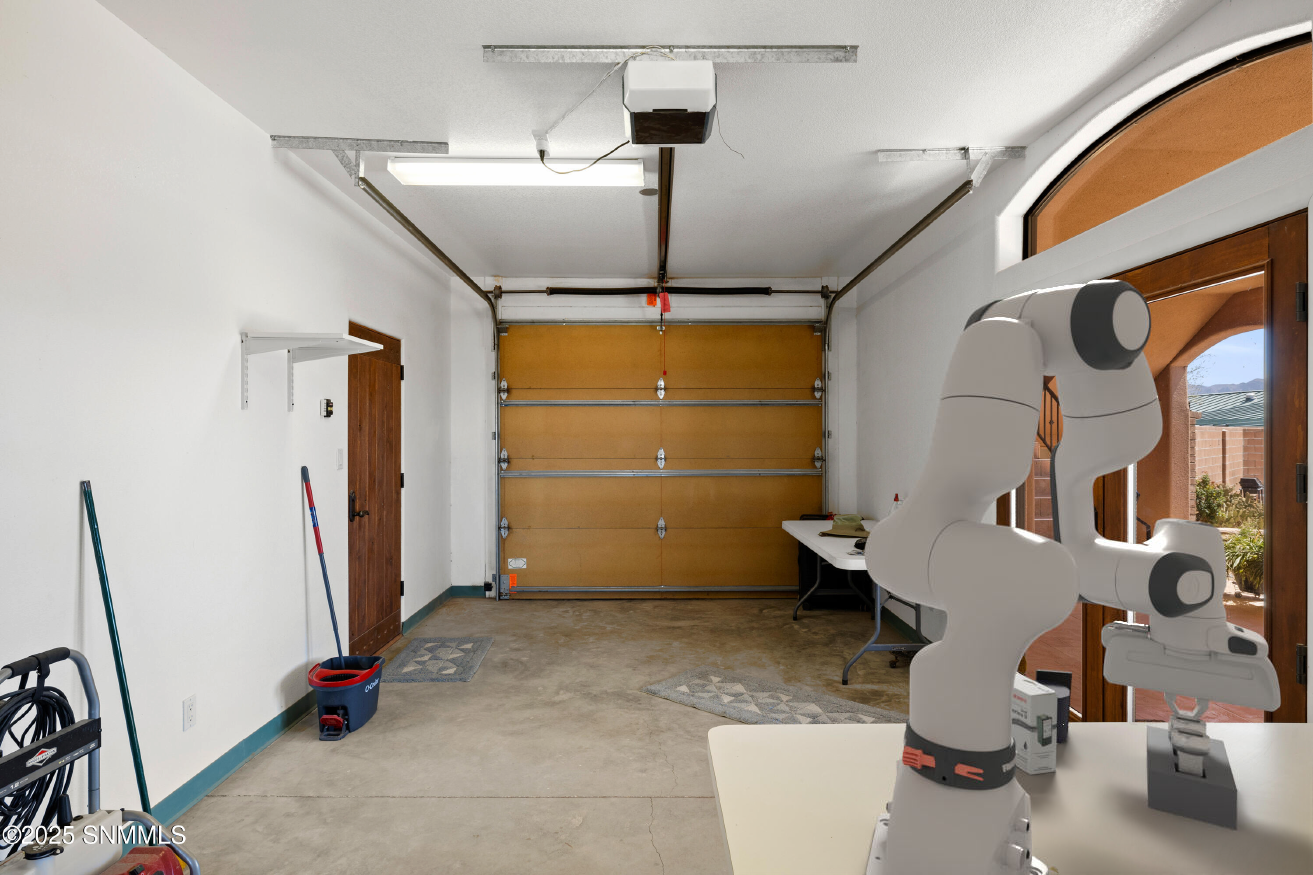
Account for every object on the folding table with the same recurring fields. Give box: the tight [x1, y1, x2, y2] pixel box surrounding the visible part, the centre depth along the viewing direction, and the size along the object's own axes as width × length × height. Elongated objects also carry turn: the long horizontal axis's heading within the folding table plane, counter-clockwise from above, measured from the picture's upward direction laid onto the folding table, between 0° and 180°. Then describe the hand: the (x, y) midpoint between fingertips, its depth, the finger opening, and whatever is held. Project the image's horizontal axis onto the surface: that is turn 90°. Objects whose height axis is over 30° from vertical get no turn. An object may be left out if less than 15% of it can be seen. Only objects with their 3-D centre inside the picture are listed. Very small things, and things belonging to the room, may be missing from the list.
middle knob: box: [1169, 713, 1207, 757], centre depth 95 cm, size 4×4×5 cm
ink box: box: [1012, 672, 1057, 775], centre depth 104 cm, size 9×5×12 cm, turn 14°
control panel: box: [1146, 725, 1238, 831], centre depth 95 cm, size 17×9×5 cm, turn 145°
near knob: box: [1171, 728, 1211, 778], centre depth 90 cm, size 4×4×5 cm
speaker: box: [1034, 669, 1073, 745], centre depth 112 cm, size 8×6×10 cm
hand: (1185, 725), depth 100 cm, fingers closed, pressing on far knob
